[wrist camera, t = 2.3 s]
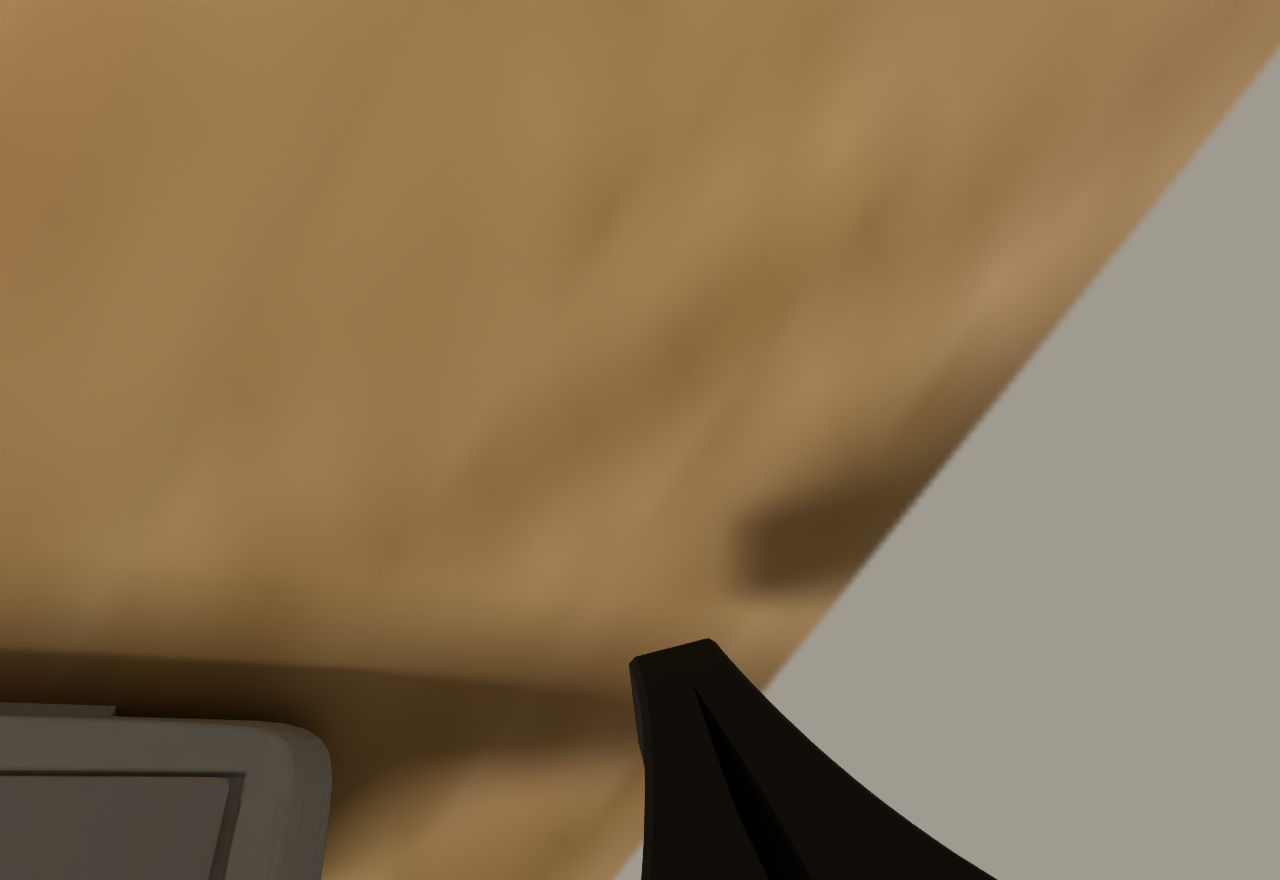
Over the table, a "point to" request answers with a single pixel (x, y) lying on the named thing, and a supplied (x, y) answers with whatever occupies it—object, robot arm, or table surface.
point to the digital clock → (158, 797)
